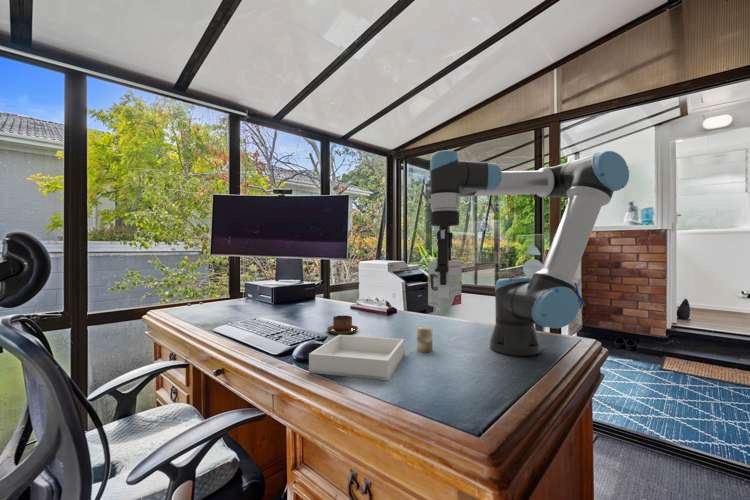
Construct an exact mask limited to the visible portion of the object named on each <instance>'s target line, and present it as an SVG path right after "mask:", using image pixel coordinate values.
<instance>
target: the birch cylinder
mask: <svg viewBox="0 0 750 500" xmlns="http://www.w3.org/2000/svg"><path fill="white" fill-rule="evenodd" d="M416 351H417V352H419V353H431V352H433V328H432V327H430V326H421V327H420V326H419V327H416Z"/></svg>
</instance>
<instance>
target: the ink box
mask: <svg viewBox="0 0 750 500" xmlns="http://www.w3.org/2000/svg"><path fill="white" fill-rule="evenodd" d="M427 263H428V265H427V266H428V267H427V271H428V272H427V273H428V275H427V285H428V286H427V305H428V306H430V307H436V308H440V309H442V308H443V309H444V308H448V307H453V306H457V305H461V304H462V280H463V278H462V275H463V274H462V272H463V271H462V266H463V261H461V260H451V261H448V269H449V271H448V272H449V298H438V272H435V268H436V269H437V260H431V261H427Z"/></svg>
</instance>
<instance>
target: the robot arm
mask: <svg viewBox="0 0 750 500" xmlns="http://www.w3.org/2000/svg"><path fill="white" fill-rule="evenodd" d="M460 159H461V157H460V155H459V152H458V151H455V150H451V149H447V150H446V149H445V150H438V151H435V152H434V153H432V154H431V157H430V161H429V163H430V165H429V173H430V174H429V176H430V177H429V178H430V179H429V180H430V181H429V182H430V198H429V199H428V200H427V203H430V210H431V212H430V220H429V222H430V226H432V227H439V229H438V230H437V232H436V239H437V240H436V243H437V244H436V245H437V246H436V247H437V256H436V257H437V259H436V261H437V269H436V268H435V272H438V298H449V272H448V271H449V269H448V261H452V248H453V238H454V234H453V233H454V232H451V227H456V226H457V227H458V226H459V225H460V212H459V211H458V210H459V209H460V198H461V197H481V196H484V197H485V196H518V195H519V196H521V195H523V196H524V195H536V196H537V197H540V198H563V199H564V198H569V199H568V202H567V204H566V207H565V210H564V212H563V215H562V218H561V220H560V223H559V225H558V227H557V229H556V232H555V235H554V237H553V240H552V242H551V245H550V247H549V250H548V252H547V254H546V257H545V259H544V262H543V264H542V267H541V270H538V271H535V272H533V275H532V277H511V278H500V279H497V281H496V282H495V288H494V292H495V294H494V295H495V301H494V302H495V308H494V309H495V325H494V328H493V331H492V334H491V336H490V340H489V348H490V349H491V350H493V351H494V352H497V353H500V354H504V355H509V356H510V355H511V356H521V357H522V356H523V357H524V356H527V357H528V356H534V355H538V354H540V353H541V343H540V341H539V337H538V334H537V331H536V328H535V324H536V325H538V326H541V327H544V328H550V329H562V328H564V327H566V326H568V325H570V324H571V323H572V322H573V321H574V320H575V319H576V317H577V315H578V313H579V310H580V303H579V302H578V301H579V297H578V295H577V294H576V290H577V286H576V285H575V283H574V279H575V276H576V274H577V271H578V267H580V266H579V265H580V263H581V260H582V257H583V255H584V252H585V249H586V247H587V245H588V242H589V240H590V237H591V234H592V232H593V231H594V230H593V229H594V227H595V224H596V222H597V219H598V217H599V214H600V212H601V208H602V207H604V206H607V205H608V204H609V203H610V202H611V199H612V197H613V194H614V192H617V191H620V190H621V189H624V188H625V187H626V186H627V185H628V183H629V179H630V170H629V166H628V165H627V164H628V163H627V161H626V160H625V159H624V158H623V156H622V155H621V154H619V153H618V152H615V151H613V150H607V151H602V152H600V151H599V152H596V153H594V154H592V155H588V156H585V157H581V158H578V159H574V160H571V161H568V162H564V163H561V164H558V165H555V166H549V167H541V168H539V169H538V170H502V168H501V166H500V165H499V164H497V163H495V162H488V161H471V160H470V161H469V160H468V161H467V160H460Z"/></svg>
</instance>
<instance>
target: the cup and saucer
mask: <svg viewBox="0 0 750 500" xmlns="http://www.w3.org/2000/svg"><path fill="white" fill-rule="evenodd" d="M332 321H333V322H332V323H333V324H332V325H331V326H328V327H326V330H327V331H328V333H330V334H334V335H351V334H353V333H355V332H357V331H358V329H359V327H358V326H356V325H353V317H352V316H351V315H336V316H333V318H332ZM351 328H353V329H355V330H353V331H351ZM332 329H334V330H335V331H331V330H332Z"/></svg>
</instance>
